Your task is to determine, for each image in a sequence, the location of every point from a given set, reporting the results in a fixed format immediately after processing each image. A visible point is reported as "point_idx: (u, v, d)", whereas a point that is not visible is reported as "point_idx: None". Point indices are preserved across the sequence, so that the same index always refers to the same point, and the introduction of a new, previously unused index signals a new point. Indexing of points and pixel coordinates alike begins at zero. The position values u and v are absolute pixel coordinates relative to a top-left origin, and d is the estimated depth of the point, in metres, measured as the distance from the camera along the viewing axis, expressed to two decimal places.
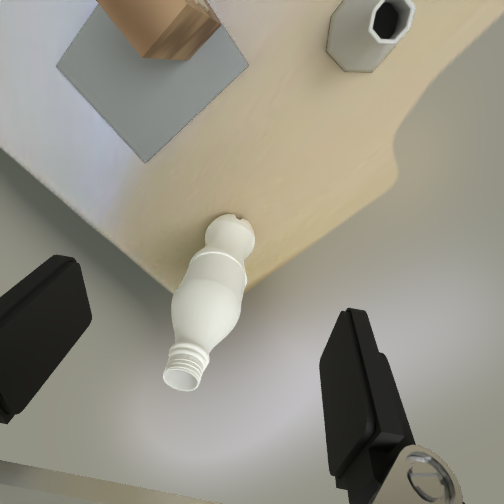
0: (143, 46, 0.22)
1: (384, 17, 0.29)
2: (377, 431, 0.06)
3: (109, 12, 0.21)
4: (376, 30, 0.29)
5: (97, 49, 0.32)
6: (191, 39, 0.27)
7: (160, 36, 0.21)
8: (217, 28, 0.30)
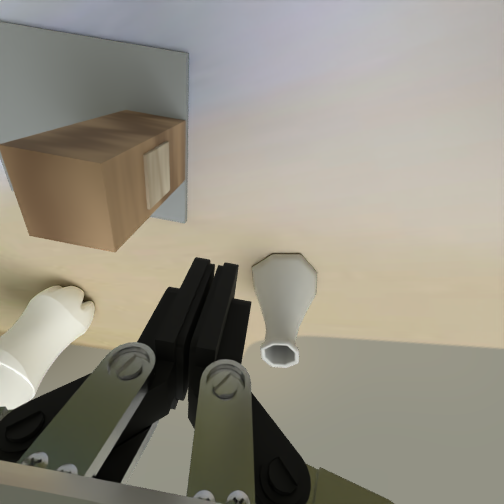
0: (38, 231, 0.16)
1: None
2: (197, 349, 0.07)
3: (14, 180, 0.14)
4: None
5: (28, 62, 0.22)
6: None
7: (67, 242, 0.16)
8: None
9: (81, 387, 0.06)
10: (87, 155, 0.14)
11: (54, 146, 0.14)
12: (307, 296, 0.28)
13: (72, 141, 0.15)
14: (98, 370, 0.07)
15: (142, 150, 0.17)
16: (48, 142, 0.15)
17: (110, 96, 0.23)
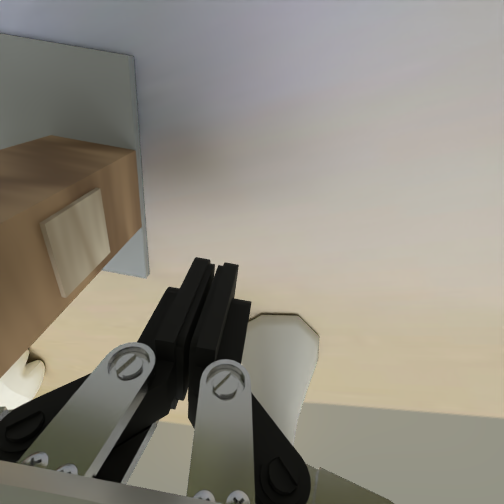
0: None
1: None
2: (197, 349, 0.07)
3: None
4: None
5: None
6: None
7: None
8: None
9: (81, 387, 0.06)
10: None
11: None
12: (307, 374, 0.21)
13: None
14: (98, 370, 0.07)
15: (36, 217, 0.10)
16: None
17: (27, 116, 0.16)
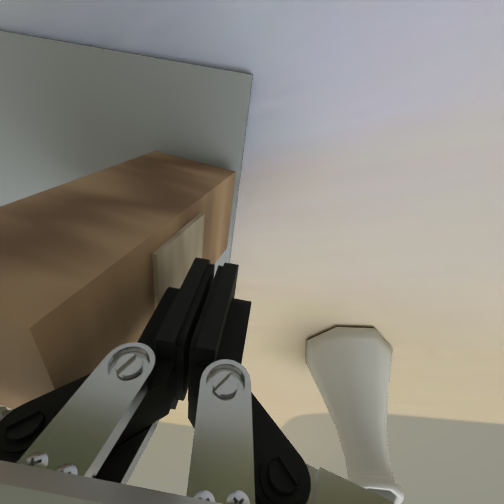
0: None
1: None
2: (197, 349, 0.07)
3: None
4: None
5: (16, 85, 0.15)
6: None
7: (4, 401, 0.09)
8: None
9: (81, 387, 0.06)
10: (17, 293, 0.07)
11: None
12: (388, 388, 0.21)
13: (22, 237, 0.08)
14: (98, 370, 0.07)
15: (150, 248, 0.10)
16: None
17: (133, 133, 0.16)
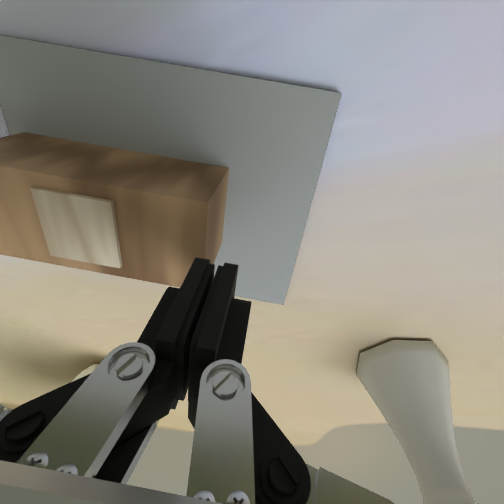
0: None
1: None
2: (197, 349, 0.07)
3: None
4: None
5: (94, 103, 0.15)
6: None
7: None
8: None
9: (81, 387, 0.06)
10: None
11: (14, 142, 0.15)
12: None
13: (36, 147, 0.15)
14: (98, 370, 0.07)
15: (31, 181, 0.13)
16: (30, 141, 0.15)
17: (210, 150, 0.16)
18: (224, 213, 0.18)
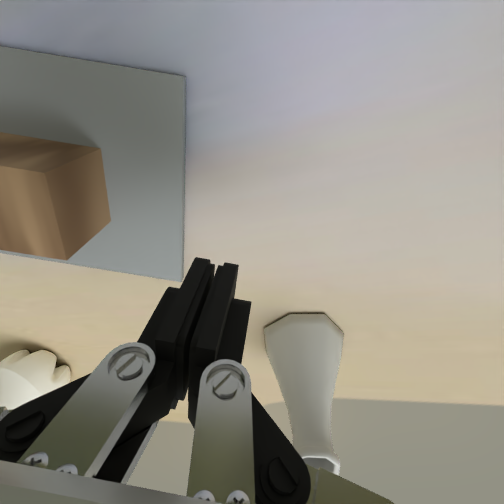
0: None
1: None
2: (198, 349, 0.07)
3: None
4: None
5: None
6: None
7: None
8: None
9: (81, 387, 0.06)
10: None
11: None
12: (336, 369, 0.23)
13: None
14: (98, 370, 0.07)
15: None
16: None
17: (80, 131, 0.17)
18: (106, 192, 0.19)
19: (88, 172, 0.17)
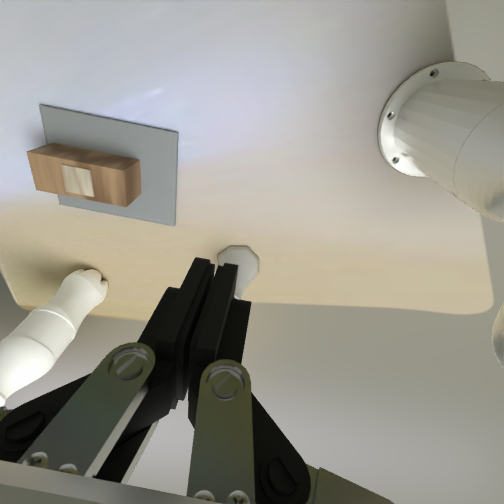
0: None
1: None
2: (197, 349, 0.07)
3: None
4: None
5: (83, 132, 0.39)
6: None
7: None
8: None
9: (81, 387, 0.06)
10: (38, 150, 0.36)
11: (51, 147, 0.38)
12: (250, 272, 0.45)
13: (60, 149, 0.38)
14: (98, 370, 0.07)
15: (61, 162, 0.36)
16: (57, 147, 0.38)
17: (131, 152, 0.39)
18: (140, 179, 0.41)
19: (135, 170, 0.39)
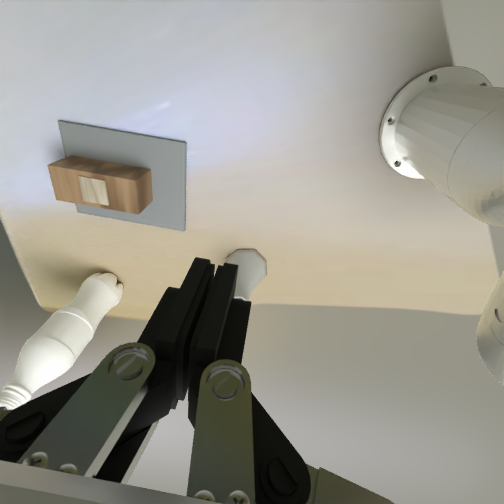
0: None
1: None
2: (197, 349, 0.07)
3: None
4: None
5: (98, 145, 0.41)
6: None
7: None
8: None
9: (81, 387, 0.06)
10: (57, 163, 0.39)
11: (69, 160, 0.41)
12: (258, 274, 0.47)
13: (78, 161, 0.41)
14: (98, 370, 0.07)
15: (78, 173, 0.38)
16: (74, 159, 0.41)
17: (143, 162, 0.42)
18: (151, 187, 0.44)
19: (146, 179, 0.41)
